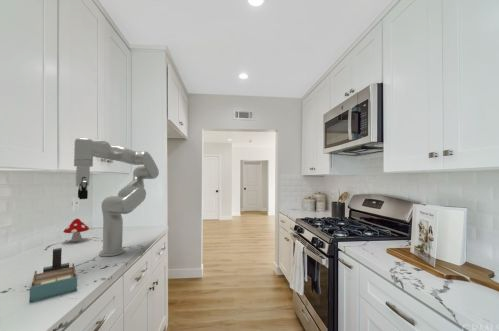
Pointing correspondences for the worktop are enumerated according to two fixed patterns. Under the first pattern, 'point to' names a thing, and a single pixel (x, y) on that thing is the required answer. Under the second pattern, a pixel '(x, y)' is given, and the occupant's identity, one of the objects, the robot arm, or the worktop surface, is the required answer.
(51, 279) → the oak block
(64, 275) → the oak block
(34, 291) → the teal tray
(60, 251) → the grey stepped block
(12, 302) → the worktop surface
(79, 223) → the decorative mushroom
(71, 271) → the walnut channel
